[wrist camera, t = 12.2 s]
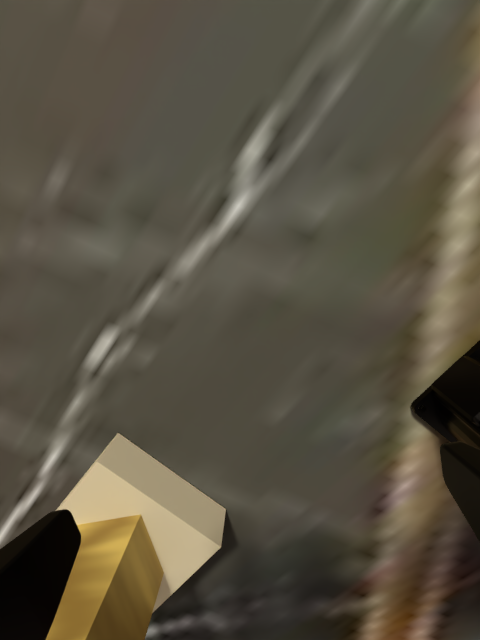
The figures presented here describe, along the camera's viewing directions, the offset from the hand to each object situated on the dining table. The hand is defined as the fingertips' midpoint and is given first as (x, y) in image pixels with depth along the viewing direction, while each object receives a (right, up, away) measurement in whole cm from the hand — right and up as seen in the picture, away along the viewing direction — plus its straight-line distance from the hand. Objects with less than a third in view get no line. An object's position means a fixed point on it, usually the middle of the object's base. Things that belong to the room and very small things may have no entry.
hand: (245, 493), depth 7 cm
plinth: (-8, -11, +17) cm, 22 cm away
